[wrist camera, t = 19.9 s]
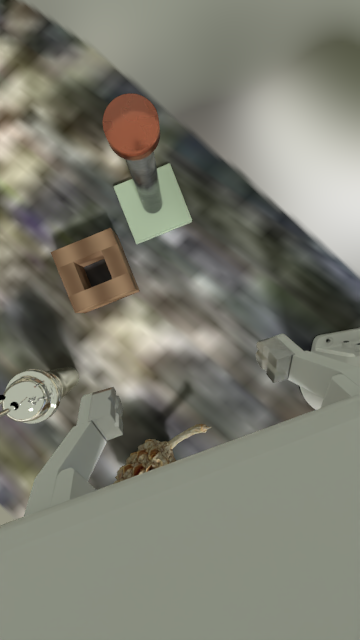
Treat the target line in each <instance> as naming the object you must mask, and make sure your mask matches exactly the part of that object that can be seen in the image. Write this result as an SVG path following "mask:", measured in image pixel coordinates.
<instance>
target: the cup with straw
mask: <svg viewBox="0 0 360 640" xmlns="http://www.w3.org/2000/svg"><path fill="white" fill-rule="evenodd" d="M78 381H79V374H78V372H77V371H76V370H75V369H74V368H72V367H63V368H59V369H54V370H50V371H42V370H38V369H29V370H25V371H23V372H20V373H19V374H17V375H16V376H15V377H13V378H12V379H11V381H10V382H9V384H8V385H7V388H6V391H5V392H4V394H3V395H0V405H1V403H2V409H3V410H2V411H0V418H1V417H2V416H4V415H6V416H8V417H9V418H10V419H12V420H14V421H18V422H24V423H38V422H41V421H44V420H46V419H48V418H49V417H51V416H52V415H53V414H54V413H55V412H56V410H57V408H58V406H59V403H60V400H61V399H62V398H63V397H64V396H65V395H66V394H67V393H68V392H69V391H70V390H72V389H73V388H74V387H75V386H76V385H77V383H78Z"/></svg>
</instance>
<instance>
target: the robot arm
mask: <svg viewBox="0 0 360 640" xmlns="http://www.w3.org/2000/svg"><path fill="white" fill-rule="evenodd" d="M326 339H328V342H326ZM256 347H257V348H258V351H257V352H256V359H257V362H258V364H259V366H260V367H261V368H262V369H264V370H266V371H267V376H268V377H269V378H270V379H271V380H272V382H273V383H277V382H280V381H283V380H286V379H288V380H290V381H292V382H293V383H295V384H297V385H299V386H300V389H301V392H302V394H303V396H304V398H305V400H306V401H307V402H308V403H309V404H310V405H311V406H312V407H313V408H314V409H316V410H314V411H312V412H309V413H306V414H303V415H301V416H298V417H295V418H292V419H290V420H287V421H284V422H281V423H279V424H276V425H273V426H271V427H268V428H265V429H262V430H260V431H257V432H254V433H251V434H249V435H246V436H243V437H240V438H238V439H235V440H232V441H230V442H227V443H224V444H221V445H219V446H216V447H213V448H210V449H208V450H205V451H202V452H199V453H197V454H194V455H191V456H189V457H186V458H183V459H180V460H178V461H175V462H172V463H170V464H167V465H164V466H161V467H159V468H156V469H153V470H150V471H148V472H145V473H142V474H140V475H137V476H134V477H131V478H129V479H126V480H123V481H120V482H118V483H115V484H112V485H109V486H107V487H104V488H101V489H99V490H96V489H95V488H94V487H93V486H92V485H90V484H89V483H88V480H89V478H90V476H91V474H92V471H93V469H94V467H95V465H96V463H97V461H98V459H99V457H100V455H101V453H102V451H103V448H104V446H105V444H106V441H107V440H110V439H113V438H115V437H118V436H121V435H123V421H122V420H121V416H122V415H123V408H122V403H121V400H120V398H119V397H118V396H116V391H115V389H114V387H111V388H108V389H104V390H101V391H97V392H94V393H91V394H87V395H84V396H83V397H82V399H81V404H80V409H79V415H78V420H77V426H75V427H73V428H72V430H71V431H70V432H69V434H68V435H67V436H66V438H65V439H64V440H63V442H62V443H61V444H60V446H59V447H58V448H57V450H56V451H55V452H54V454H53V455H52V456H51V458H50V459H49V461H48V462H47V463H46V465H45V466H44V467H43V469H42V470H41V471H40V473H39V474H38V475H37V477H36V478H35V480H34V484H33V487H32V490H31V494H30V497H29V501H28V504H27V508H26V511H25V514H24V517H22V518H19V519H17V520H14V521H11V522H8V523H6V524H3V525H1V526H0V640H360V328H356V329H350V330H345V331H339V332H334V333H328V334H323V335H318V336H316V337H315V338H314V340H313V344H312V348H311V352H309V351H303V350H302V349H301V348H300V347H299V346H297V345H296V344H295V343H294V342H293V341H292V340H290V339H289V338H288V337H287V336H286V335H284V334H280V335H277V336H274V337H271V338H267V339H264V340H261V341H258V342H257V345H256Z"/></svg>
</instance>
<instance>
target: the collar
mask: <svg viewBox="0 0 360 640" xmlns="http://www.w3.org/2000/svg"><path fill="white" fill-rule="evenodd" d="M51 254H52V257H53V259H54V261H55V264H56V266H57V269H58V271H59V274H60V276H61V279H62V281H63V284H64V286H65V289H66V291H67V294H68V296H69V299H70V301H71V304H72V306H73V309H74V311H75V313H87V312H89V311H92V310H94V309H97V308H99V307H102V306H104V305H107V304H109V303H112V302H114V301H117V300H119V299H122V298H124V297H127V296H129V295H132V294H134V293H137V292H139V289H138V286H137V284H136V281H135V278H134V276H133V273H132V271H131V268H130V266H129V263H128V261H127V258H126V256H125V253H124V251H123V248H122V246H121V243H120V241H119V238H118V236H117V235H116V234H115V232H114V231H113V230H112V229H111V228H109V229H106V230H104V231H102V232H99V233H97V234H94V235H92V236H89V237H87V238H84V239H82V240H80V241H77V242H75V243H72V244H70V245H67V246H65V247H62V248H60V249H58V250H55V251H53V252H51ZM102 259H105V261H106V264H107V266H108V269H109V271H110V274H111V276H112V279H111V280H109V281H106V282H104V283H101V284H99V285H96V286H94V287H91V284H90V282H89V279H88V277H87V274H86V272H85V269H84V267H85V266H88V265H90V264H92V263H95V262H97V261H100V260H102Z"/></svg>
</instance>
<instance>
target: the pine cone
mask: <svg viewBox="0 0 360 640" xmlns="http://www.w3.org/2000/svg"><path fill="white" fill-rule="evenodd" d="M209 428H211V427H207V426H206V425H204V424H197V425H195V426H193V427H191V428H189V429H188V430H186V431H184V432H183V433H181V434H179V435H177V436H175V437H174V438H173V439H172V440H170V441H168V442H167V441H164V442H160V441H158V440H157V441H156V439H148V440H146V441H145V443H144V444H142V445H140V446H138V451H137V452H133V453H130V457H129V458H127V459H126V465H125V466H122V467H121V468H120V470H119V471H118V473H117V476H116V477H115V478H116V479H117V481H115V482H114V483H113V484H115V483H118V482H120V481H123V480H126V479H129V478H131V477H134V476H137V475H140V474H142V473H145V472H148V471H150V470H153V469H156V468H159V467H161V466H164V465H167V464H170V463H172V462H175V461H176V460H175V458H174V454H173V450H172V449H173V448H174V447H175V446H176V445H177V444H178V443H179V442H181V441H182V440H184V439H186V438H187V437H189V436H191V435H194V434H196V433H200V432H204V433H205V432H207V430H208V429H209Z"/></svg>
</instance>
